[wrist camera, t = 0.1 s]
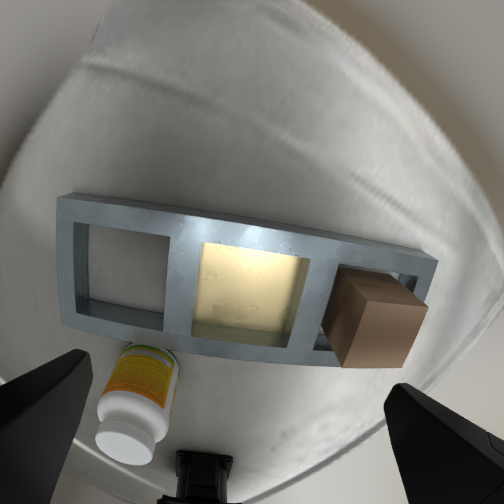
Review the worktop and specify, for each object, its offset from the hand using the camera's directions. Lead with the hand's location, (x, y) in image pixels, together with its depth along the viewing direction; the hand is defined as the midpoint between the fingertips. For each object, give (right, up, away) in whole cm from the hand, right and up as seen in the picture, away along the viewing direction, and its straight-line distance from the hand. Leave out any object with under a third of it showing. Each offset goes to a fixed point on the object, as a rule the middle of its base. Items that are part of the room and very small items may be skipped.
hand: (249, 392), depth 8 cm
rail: (0, +1, +15) cm, 15 cm away
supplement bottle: (-9, -6, +17) cm, 20 cm away
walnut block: (+8, 0, +16) cm, 18 cm away
